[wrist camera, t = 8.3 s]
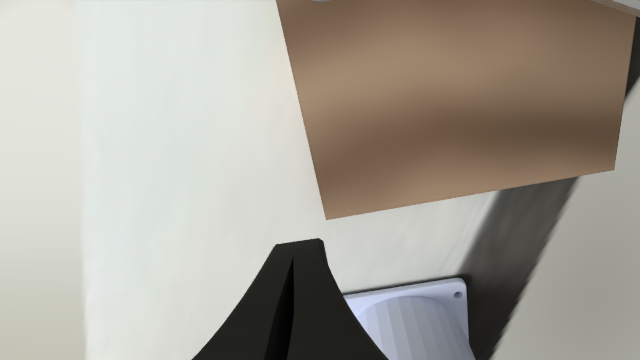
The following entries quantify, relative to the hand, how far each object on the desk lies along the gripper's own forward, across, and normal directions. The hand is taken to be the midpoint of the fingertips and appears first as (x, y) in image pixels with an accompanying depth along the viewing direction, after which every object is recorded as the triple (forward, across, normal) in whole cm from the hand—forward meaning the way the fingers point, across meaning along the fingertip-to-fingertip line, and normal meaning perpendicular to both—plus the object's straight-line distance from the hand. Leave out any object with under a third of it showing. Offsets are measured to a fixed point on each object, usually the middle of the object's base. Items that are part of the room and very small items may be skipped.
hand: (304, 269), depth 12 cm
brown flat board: (+9, -7, -6) cm, 13 cm away
